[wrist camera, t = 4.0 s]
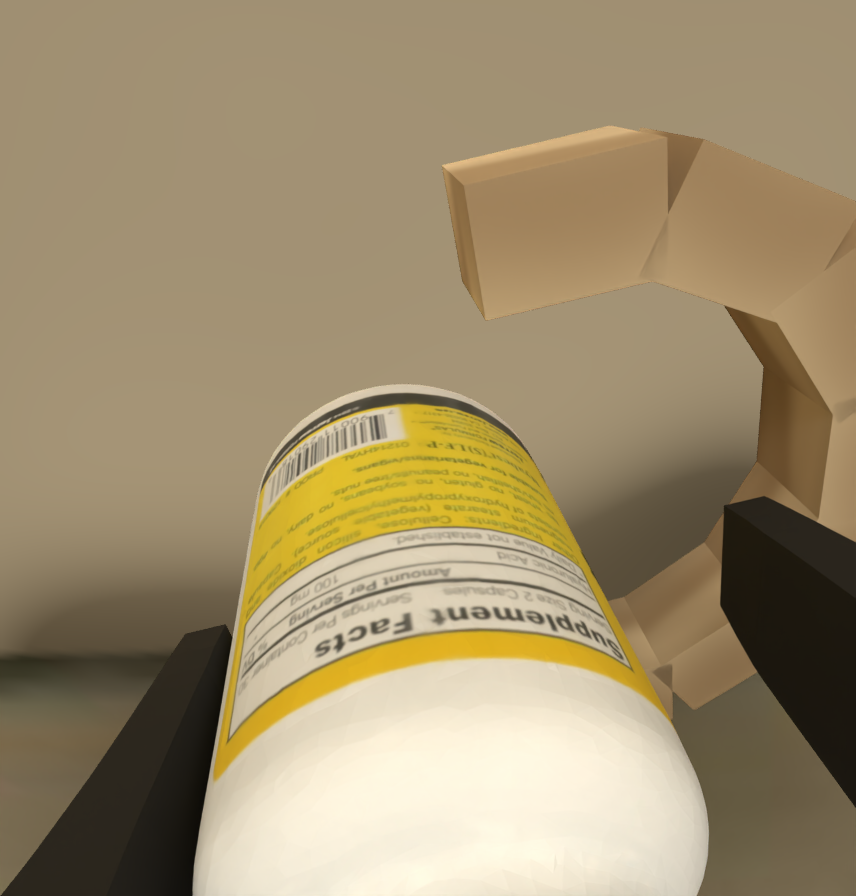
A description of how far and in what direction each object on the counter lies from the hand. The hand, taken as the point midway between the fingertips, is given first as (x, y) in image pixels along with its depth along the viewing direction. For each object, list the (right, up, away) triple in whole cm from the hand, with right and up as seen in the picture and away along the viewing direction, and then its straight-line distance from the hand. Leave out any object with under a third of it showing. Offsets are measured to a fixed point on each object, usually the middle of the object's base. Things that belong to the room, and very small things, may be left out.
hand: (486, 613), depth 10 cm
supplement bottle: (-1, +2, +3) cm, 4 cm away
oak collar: (+4, +3, +3) cm, 6 cm away
